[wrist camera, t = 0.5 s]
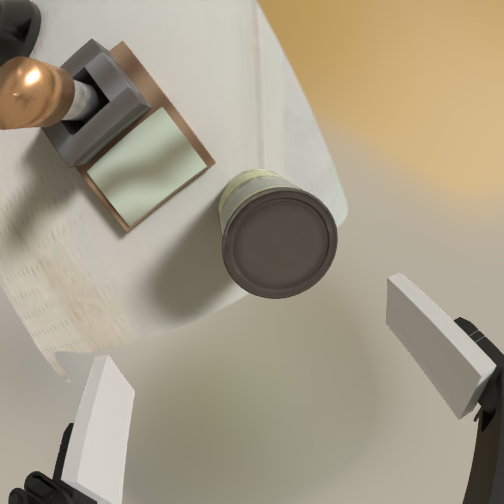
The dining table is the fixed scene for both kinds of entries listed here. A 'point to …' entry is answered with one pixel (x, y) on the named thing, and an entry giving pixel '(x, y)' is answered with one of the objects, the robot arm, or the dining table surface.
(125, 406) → the robot arm
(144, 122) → the board
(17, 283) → the dining table surface
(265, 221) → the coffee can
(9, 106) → the peg
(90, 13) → the dining table surface
